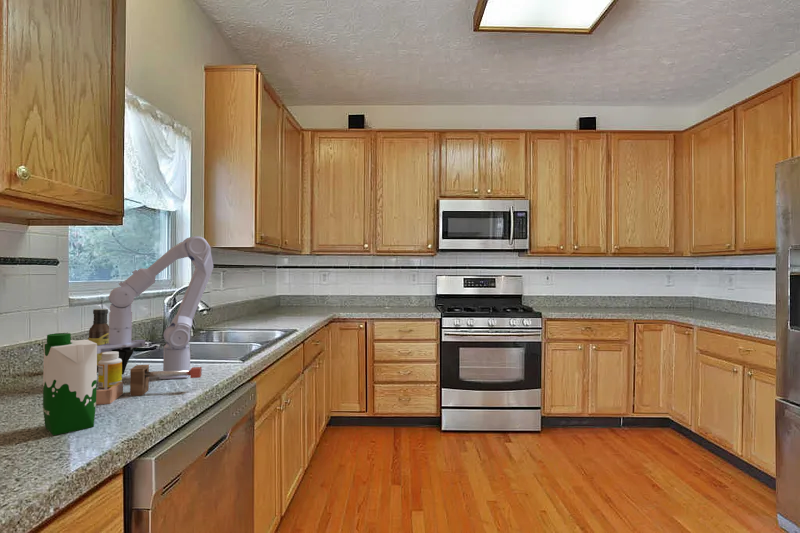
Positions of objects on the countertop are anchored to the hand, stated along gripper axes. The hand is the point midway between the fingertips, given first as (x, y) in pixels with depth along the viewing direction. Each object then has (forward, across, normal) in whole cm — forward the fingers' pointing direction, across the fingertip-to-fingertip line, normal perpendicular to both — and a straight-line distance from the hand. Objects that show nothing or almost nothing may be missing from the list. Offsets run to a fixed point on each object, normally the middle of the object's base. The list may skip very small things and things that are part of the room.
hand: (119, 374), depth 134 cm
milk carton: (+3, -28, -26) cm, 39 cm away
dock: (+2, -14, -11) cm, 18 cm away
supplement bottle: (+3, -6, -5) cm, 8 cm away
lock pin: (-1, 0, -21) cm, 21 cm away
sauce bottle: (+3, +7, +21) cm, 22 cm away
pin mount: (+2, -4, -15) cm, 16 cm away
